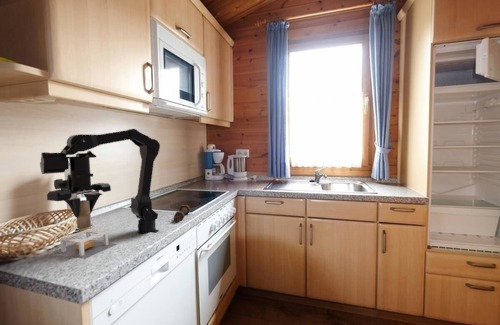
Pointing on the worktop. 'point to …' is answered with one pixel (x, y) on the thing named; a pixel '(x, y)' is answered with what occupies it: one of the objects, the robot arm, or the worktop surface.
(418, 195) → the worktop surface
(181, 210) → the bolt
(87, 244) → the orange square block
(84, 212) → the walnut cylinder
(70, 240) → the white mini table
